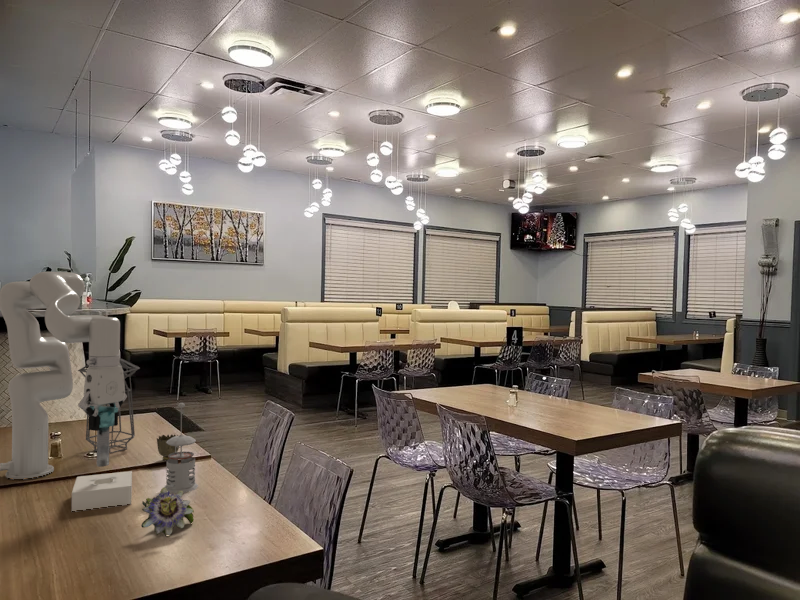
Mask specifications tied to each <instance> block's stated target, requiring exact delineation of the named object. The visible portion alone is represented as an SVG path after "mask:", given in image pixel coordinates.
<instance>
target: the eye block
mask: <svg viewBox="0 0 800 600" xmlns="http://www.w3.org/2000/svg"><path fill="white" fill-rule="evenodd" d="M132 493H133V471H132V470H129V471H120V472H119V471H117V472H112V473H101V474H92V475H80V476H77V477H76V478H75V482H74V485H73V487H72V492H71V512H72V511H75V512H77V511H76V510H83V511H87V510H86V509H91V510H94V509H93V508H99V509H101V508H100V507H107V508H109V507H108V506H115V507H118V506H117V505H122V506H128V505H127V504H130V505H132V498H133V497H132Z"/></svg>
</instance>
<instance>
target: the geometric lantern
mask: <svg viewBox="0 0 800 600" xmlns="http://www.w3.org/2000/svg"><path fill="white" fill-rule="evenodd" d="M119 366H122V369H126V370H125V371H124V370H123V374H124V384H125V393H127V401H128V403H127V404H128V411H129V412H128V413H129V421H130V432H125V431H122V422H121V420H122V419H121V409H120V410H119V411H118V426H119V430H114V427H115V426H111V431H109V434H111V439H109V453H110V454H113V453H118V452H121V451H125V450H127V449H128V443H130V441H132V439H134V438H135V437H136V435H135V421H134V420H135V418H134V410H133V409H134V408H133V407H134V406H133V393H132V382H131V381H132V379H131V377H132V376H133V374H135V373H136V371H138V370H140V369H141V367H139V366H138V365H135V364H133V363H132V362H129V361H127V360H125V359H123V358H121V357H120V365H119ZM87 368H89V365H87V364H86V365H84V366H83V367H81V368H80V369H78V370H77V372H79V373H81V375H82V376H83V377H84V378H85V377H86V372H87ZM84 373H85V374H84ZM128 377H129V385H130V386H129V387H128V384H127V381H126V380H125V379H126V378H128ZM113 404H114V403H113ZM87 405H88V406H89V404H87ZM101 406H103V405H101ZM105 406H108V404H106V405H105ZM85 425H86V428H85V429H86V431H85V433H86V434H85V441H87V442H88V443H89V444H91V445H92V446H93V449H94V452H96V451H97V441H94V440H92V438H97V434H96V435H91V436H90V433H91V430H89V428H88V427H89V416H88V415H86V424H85ZM114 433H118V434H117V435H116V436H115V438H114V435H113V434H114ZM120 434H126V435H128V436H130V437H127V438H122V439H117V438H118V437H119V435H120ZM113 438H114V439H113ZM116 443H120V444H116ZM124 445H125V446H124ZM116 447H117V448H118V447H119V448H122V449H118V450H114V451H111V449H113V448H116ZM117 451H118V452H117Z"/></svg>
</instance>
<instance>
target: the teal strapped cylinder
mask: <svg viewBox="0 0 800 600" xmlns="http://www.w3.org/2000/svg"><path fill="white" fill-rule="evenodd" d="M94 407H95V406H93V410H94ZM116 412H118V413H119V411H118V408H117V407H109V405H107V406H106V405H102V406H100V407H99V411H98V414H97V416H99V430H98V431H96V435H97V437H96V442H97V445H96V446H97V447H96V449H97V450H96V451H97V452H96V467H98V468H99V467H101V468H102V467H107V466H109V465H110V454H109V446H110V444H109V442H110V441H109V440H110V433H109V432H110V428H111V427H112V426H113V425H115V413H116Z"/></svg>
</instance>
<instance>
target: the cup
mask: <svg viewBox="0 0 800 600" xmlns="http://www.w3.org/2000/svg"><path fill="white" fill-rule="evenodd" d="M175 436H179V434H175V433H174V434H170V435H169V434H167V435H165V434H162V435H158V437H156V445H157V451H158V453H159V455H160V456H161V457H162V460H163V461H164V460H168V459H170V458H168V455H169V454H171V453H175V446H171V445H168V444H167V443H166V442H167V441H168V440H169V439H171V438H172V437H175ZM177 447H180V446H177ZM177 447H176V452H179V448H177Z"/></svg>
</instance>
